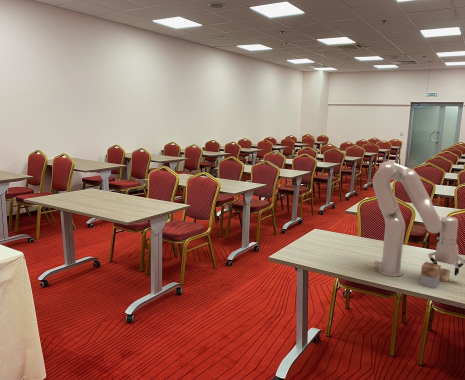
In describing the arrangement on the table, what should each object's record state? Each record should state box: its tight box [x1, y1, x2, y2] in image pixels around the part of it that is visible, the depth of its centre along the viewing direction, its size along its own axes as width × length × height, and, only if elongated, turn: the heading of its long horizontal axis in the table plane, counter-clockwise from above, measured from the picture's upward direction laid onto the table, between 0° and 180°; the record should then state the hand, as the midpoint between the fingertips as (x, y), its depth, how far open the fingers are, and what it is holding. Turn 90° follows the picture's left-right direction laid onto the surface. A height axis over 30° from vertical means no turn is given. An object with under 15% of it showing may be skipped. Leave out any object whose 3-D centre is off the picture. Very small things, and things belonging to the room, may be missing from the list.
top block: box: [420, 261, 442, 279], centre depth 197 cm, size 7×7×5 cm
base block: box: [419, 274, 440, 289], centre depth 198 cm, size 7×7×5 cm
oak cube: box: [439, 267, 451, 282], centre depth 204 cm, size 5×5×5 cm
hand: (445, 272), depth 204 cm, fingers open, 9 cm apart
